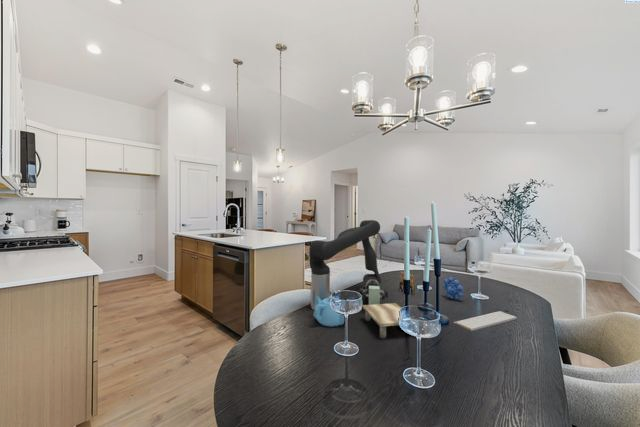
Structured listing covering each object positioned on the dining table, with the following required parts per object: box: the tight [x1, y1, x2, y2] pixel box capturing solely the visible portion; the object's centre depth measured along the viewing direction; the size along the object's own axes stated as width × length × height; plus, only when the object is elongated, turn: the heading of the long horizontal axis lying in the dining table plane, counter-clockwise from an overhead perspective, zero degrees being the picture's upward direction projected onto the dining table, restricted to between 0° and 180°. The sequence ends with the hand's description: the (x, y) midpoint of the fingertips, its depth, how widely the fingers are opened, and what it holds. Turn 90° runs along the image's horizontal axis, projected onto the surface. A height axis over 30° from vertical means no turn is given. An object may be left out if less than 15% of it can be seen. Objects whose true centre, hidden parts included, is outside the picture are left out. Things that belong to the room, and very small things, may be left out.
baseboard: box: [453, 308, 518, 332], centre depth 120 cm, size 30×3×10 cm
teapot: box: [313, 295, 345, 328], centre depth 118 cm, size 15×15×11 cm
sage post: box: [368, 286, 381, 305], centre depth 128 cm, size 5×5×12 cm
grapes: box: [442, 276, 465, 301], centre depth 147 cm, size 12×7×12 cm, turn 34°
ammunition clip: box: [399, 270, 416, 295], centre depth 159 cm, size 11×2×12 cm, turn 26°
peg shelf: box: [361, 302, 402, 339], centre depth 113 cm, size 16×20×6 cm
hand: (373, 297), depth 130 cm, fingers open, 8 cm apart
